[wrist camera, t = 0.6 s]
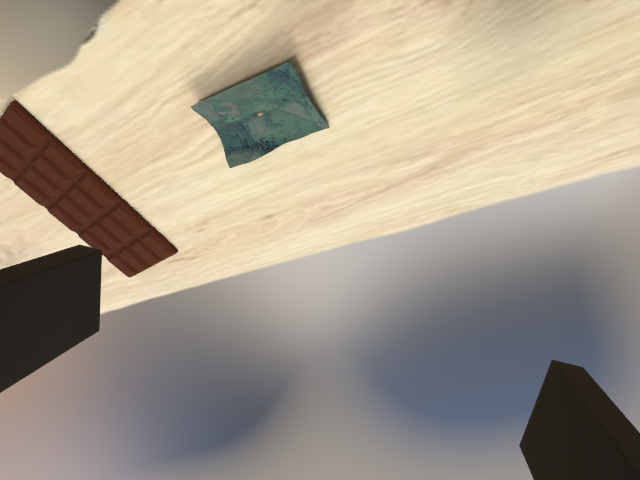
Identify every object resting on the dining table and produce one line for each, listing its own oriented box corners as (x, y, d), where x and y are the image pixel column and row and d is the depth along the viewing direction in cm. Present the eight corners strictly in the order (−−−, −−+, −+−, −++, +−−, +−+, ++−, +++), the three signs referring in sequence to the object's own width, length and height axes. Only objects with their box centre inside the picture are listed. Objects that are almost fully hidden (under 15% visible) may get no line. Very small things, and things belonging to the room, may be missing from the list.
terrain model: (295, 53, 36) (289, 60, 35) (331, 126, 40) (327, 135, 39) (194, 101, 42) (186, 109, 40) (235, 160, 46) (229, 169, 45)
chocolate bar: (-20, 149, 55) (-26, 153, 54) (14, 100, 48) (7, 103, 47) (132, 275, 66) (128, 279, 66) (178, 250, 59) (174, 255, 58)
